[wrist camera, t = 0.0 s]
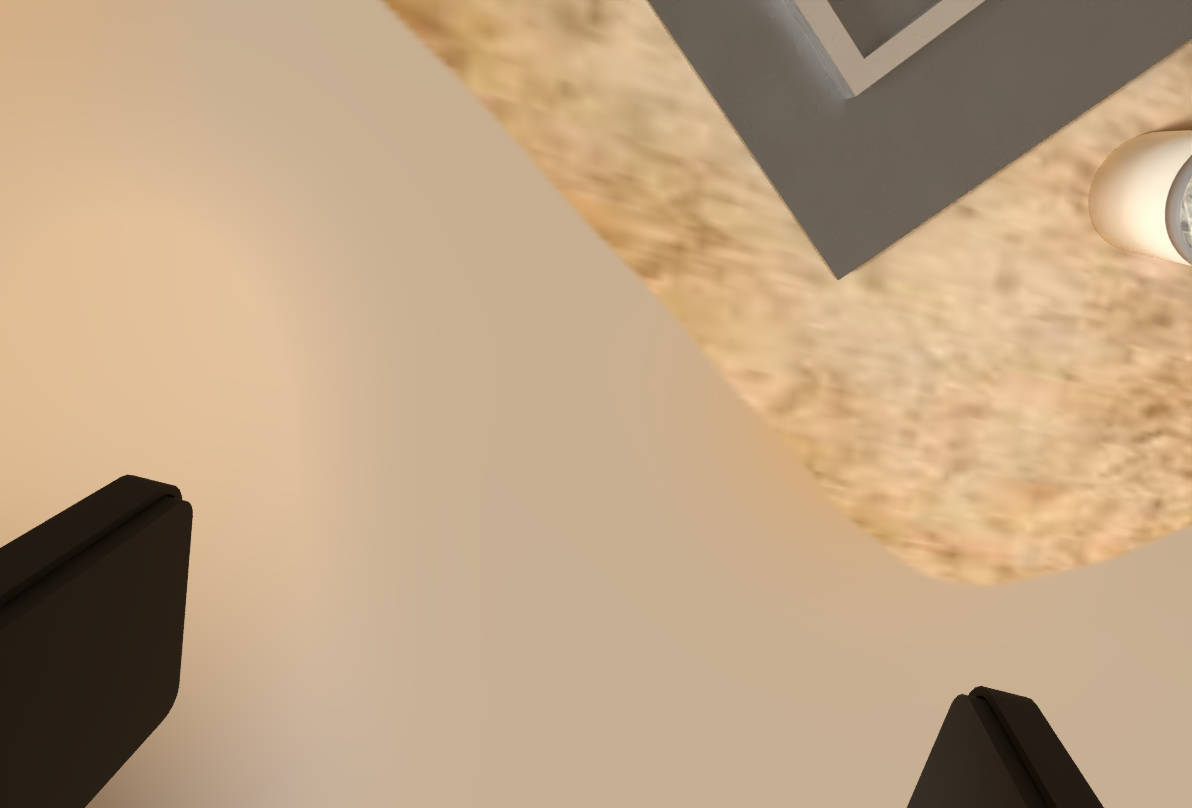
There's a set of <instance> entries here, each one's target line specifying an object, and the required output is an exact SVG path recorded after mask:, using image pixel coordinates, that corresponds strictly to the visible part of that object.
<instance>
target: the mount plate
mask: <svg viewBox="0 0 1192 808" xmlns="http://www.w3.org/2000/svg"><path fill="white" fill-rule="evenodd" d="M646 1H647V3H648V4H649V6H650V7H651V9H652V10H653V12H654V13H655V15H656V16H657V18H658V19H659V20H660V22H661V23H662V25H663V26H664V28H665V29H666V31H667V32H668V34H669V35H670V37H671V38H672V40H673V41H674V43H675V44H676V45H677V47H678V48H679V50H680V51H681V53H682V54H683V56H684V57H685V59H686V60H687V62H688V63H689V65H690V66H691V68H692V69H693V70H694V72H695V73H696V75H697V76H698V78H699V79H700V81H701V82H702V84H703V85H704V87H705V88H706V90H707V91H708V92H709V94H710V95H711V97H712V98H713V100H714V101H715V103H716V104H717V106H718V107H719V109H720V110H721V112H722V113H723V115H724V116H725V117H726V119H727V120H728V122H729V123H730V125H731V126H732V128H733V129H734V131H735V132H736V134H737V135H738V137H739V138H740V140H741V141H742V142H743V144H744V145H745V147H746V148H747V150H748V151H749V153H750V154H751V156H752V157H753V159H754V160H755V162H756V163H757V164H758V166H759V167H760V169H761V170H762V172H763V173H764V175H765V176H766V178H767V179H768V181H769V182H770V184H771V185H772V187H773V188H774V189H775V191H776V192H777V194H778V195H779V197H780V198H781V200H782V201H783V203H784V204H785V206H786V207H787V209H788V210H789V212H790V213H791V214H792V216H793V217H794V219H795V220H796V222H797V223H798V225H799V226H800V228H801V229H802V231H803V232H804V234H805V235H806V236H807V238H808V239H809V241H810V242H811V244H812V245H813V247H814V248H815V250H816V251H817V253H818V254H819V256H820V257H821V259H822V260H823V261H824V263H825V264H826V266H827V267H828V269H829V270H830V272H831V273H832V275H833V276H834V277H835V278H836V279H837V280H839V279H841V278H842V277H844V276H845V275H847V274H848V273H850V272H851V271H852V270H854V269H855V268H857V267H858V266H860V265H861V264H863V263H864V262H866V261H867V260H869V259H870V258H871V257H873V256H874V255H876V254H877V253H879V252H880V251H882V250H883V249H885V248H886V247H888V246H889V245H890V244H892V243H893V242H895V241H896V240H898V239H899V238H901V237H902V236H904V235H905V234H907V233H908V232H909V231H911V230H912V229H914V228H915V227H917V226H918V225H920V224H921V223H923V222H924V221H926V220H927V219H928V218H930V217H931V216H933V215H934V214H936V213H937V212H939V211H940V210H942V209H943V208H945V207H946V206H947V205H949V204H950V203H952V202H953V201H955V200H956V199H958V198H959V197H961V196H962V195H964V194H965V193H966V192H968V191H969V190H971V189H972V188H974V187H975V186H977V185H978V184H980V183H981V182H983V181H984V180H985V179H987V178H988V177H990V176H991V175H993V174H994V173H996V172H997V171H999V170H1000V169H1002V168H1003V167H1004V166H1006V165H1007V164H1009V163H1010V162H1012V161H1013V160H1015V159H1016V158H1018V157H1019V156H1021V155H1022V154H1023V153H1025V152H1026V151H1028V150H1029V149H1031V148H1032V147H1034V146H1035V145H1037V144H1038V143H1040V142H1041V141H1042V140H1044V139H1045V138H1047V137H1048V136H1050V135H1051V134H1053V133H1054V132H1056V131H1057V130H1059V129H1060V128H1061V127H1063V126H1064V125H1066V124H1067V123H1069V122H1070V121H1072V120H1073V119H1075V118H1076V117H1078V116H1079V115H1080V114H1082V113H1083V112H1085V111H1086V110H1088V109H1089V108H1091V107H1092V106H1094V105H1095V104H1097V103H1098V102H1099V101H1101V100H1102V99H1104V98H1105V97H1107V96H1108V95H1110V94H1111V93H1113V92H1114V91H1116V90H1117V89H1118V88H1120V87H1121V86H1123V85H1124V84H1126V83H1127V82H1129V81H1130V80H1132V79H1133V78H1135V77H1136V76H1137V75H1139V74H1140V73H1142V72H1143V71H1145V70H1146V69H1148V68H1149V67H1151V66H1152V65H1154V64H1155V63H1156V62H1158V61H1159V60H1161V59H1162V58H1164V57H1165V56H1167V55H1168V54H1170V53H1171V52H1173V51H1174V50H1175V49H1177V48H1178V47H1180V46H1181V45H1183V44H1184V43H1186V42H1187V41H1189V40H1190V39H1192V0H646Z"/></svg>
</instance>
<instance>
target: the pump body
mask: <svg viewBox="0 0 1192 808" xmlns="http://www.w3.org/2000/svg"><path fill="white" fill-rule="evenodd" d="M1089 213H1090V217H1091V220H1092V223H1093V225H1094V227H1095V229H1096V231H1097V232H1098V233H1099V235H1100V236H1101V237H1102V238H1103V239H1104V240H1105V241H1106V242H1108V243H1109V244H1110V245H1112V246H1114V247H1116V248H1118V249H1121V250H1124V251H1128V252H1132V253H1137V254H1141V255H1146V256H1150V257H1155V258H1159V259H1164V260H1168V261H1173V262H1177V263H1182V264H1186V265H1191V266H1192V130H1184V131H1160V132H1151V133H1146V134H1143V135H1140V136H1137V137H1135V138H1133V139H1130V140H1129V141H1127V142H1125V143H1124V144H1122V145H1121V146H1119V147H1118V148H1117V149H1115V150H1114V151H1113V152H1112V153H1111V154H1110V155H1109V156H1108V157H1107V158H1106V160H1105V161H1104V162H1103V163H1102V165H1101V166H1100V168H1099V169H1098V171H1097V173H1096V175H1095V177H1094V179H1093V182H1092V184H1091V188H1090V192H1089Z"/></svg>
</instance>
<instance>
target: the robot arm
mask: <svg viewBox="0 0 1192 808" xmlns="http://www.w3.org/2000/svg"><path fill="white" fill-rule="evenodd" d="M192 518H193V511H192V506H191V504H190V503H189V502H187V501H183V500H182V495H181V492H180V490H179V489H178V488H177V487H176V486H174V485H170V484H166V483H161V482H158V481H153V480H149V479H146V478H142V477H137V476H133V475H126V476H122V477H120V478H118V479H117V480H115V481H113V482H112V483H110V484H108V485H106V486H105V487H103V488H101V489H100V490H98V491H96V492H95V493H93V494H91V495H90V496H88V497H86V498H84V499H83V500H81V501H79V502H78V503H76V504H74V505H72V506H71V507H69V508H68V509H66V510H64V511H62V512H61V513H59V514H57V515H56V516H54V517H52V518H50V519H49V520H47V521H45V522H44V523H42V524H40V525H39V526H37V527H35V528H33V529H32V530H30V531H29V532H27V533H25V534H23V535H22V536H20V537H18V538H17V539H15V540H13V541H11V542H10V543H8V544H6V545H5V546H3V547H1V548H0V808H85V807H86V806H87V805H88V803H89V802H90V801H91V800H92V799H93V798H94V797H95V796H96V794H97V793H98V792H99V791H100V790H101V789H102V788H103V787H104V786H105V785H106V783H107V782H108V781H109V780H110V779H111V778H112V777H113V776H114V774H115V773H116V772H117V771H118V770H119V769H120V768H121V767H122V766H123V764H124V763H125V762H126V761H127V760H128V759H129V758H130V757H131V756H132V754H133V753H134V752H135V751H136V750H137V749H138V748H139V747H140V746H141V744H142V743H143V742H144V741H145V740H146V739H147V738H148V737H149V735H150V734H151V733H152V732H153V731H154V730H155V729H156V728H157V726H158V725H159V724H160V723H161V722H162V721H163V720H164V718H165V717H166V716H167V715H168V713H169V711H170V710H171V708H172V706H173V704H174V701H175V699H176V696H177V693H178V688H179V681H180V669H181V656H182V643H183V630H184V618H185V606H186V593H187V580H188V567H189V555H190V542H191V530H192ZM907 808H1104V807H1103V806H1102V804H1101V803H1100V801H1099V800H1098V798H1097V797H1096V795H1095V794H1094V792H1093V790H1092V789H1091V787H1090V786H1089V784H1088V783H1087V781H1086V780H1085V778H1084V777H1083V775H1082V774H1081V772H1080V771H1079V769H1078V768H1077V766H1076V764H1075V763H1074V761H1073V760H1072V758H1071V757H1070V755H1069V754H1068V752H1067V751H1066V749H1065V748H1064V746H1063V744H1062V743H1061V741H1060V740H1059V738H1058V737H1057V735H1056V734H1055V732H1054V731H1053V729H1052V728H1051V726H1050V725H1049V723H1048V721H1047V720H1046V718H1045V717H1044V716H1043V714H1042V712H1041V711H1040V709H1039V708H1038V706H1037V705H1036V704H1035V703H1034V702H1033V700H1032V699H1029V698H1027V697H1023V696H1019V695H1015V694H1011V693H1007V692H1003V691H999V690H995V689H991V688H987V687H983V686H979V687H975V688H974V689H973V690H972V691H971V692H970V693H969V695H968V696H967V695H964V694H961V695H958V696H957V697H956V698H955V699H954V701H953V702H952V704H951V706H950V709H949V711H948V713H947V716H946V718H945V720H944V722H943V725H942V727H941V729H940V732H939V734H938V736H937V739H936V742H935V744H934V746H933V748H932V750H931V753H930V755H929V757H928V760H927V762H926V764H925V767H924V769H923V771H922V774H921V776H920V778H919V781H918V783H917V785H916V788H915V790H914V792H913V795H912V797H911V799H910V802H909V804H908V806H907Z"/></svg>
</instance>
